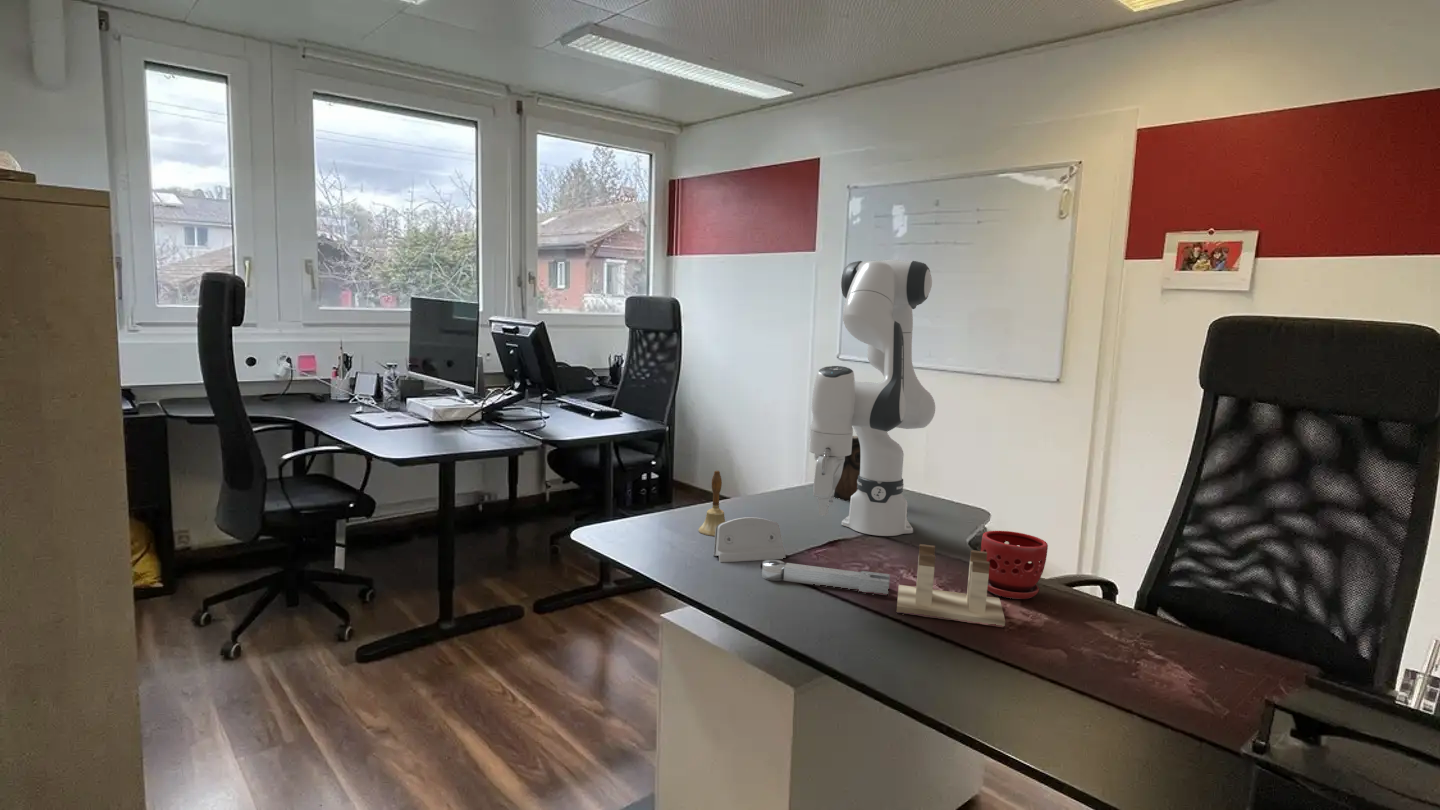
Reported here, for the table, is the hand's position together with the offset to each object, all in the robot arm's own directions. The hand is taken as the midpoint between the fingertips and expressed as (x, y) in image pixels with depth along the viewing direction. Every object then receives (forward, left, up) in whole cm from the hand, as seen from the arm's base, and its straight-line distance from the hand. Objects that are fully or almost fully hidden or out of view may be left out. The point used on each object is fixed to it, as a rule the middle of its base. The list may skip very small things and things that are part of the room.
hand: (826, 509), depth 163 cm
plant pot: (-10, +39, -17) cm, 44 cm away
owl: (-78, 0, -17) cm, 80 cm away
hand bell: (-27, -31, -17) cm, 44 cm away
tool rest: (+5, +26, -16) cm, 31 cm away
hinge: (-12, -19, -17) cm, 28 cm away
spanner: (0, 0, -16) cm, 16 cm away
